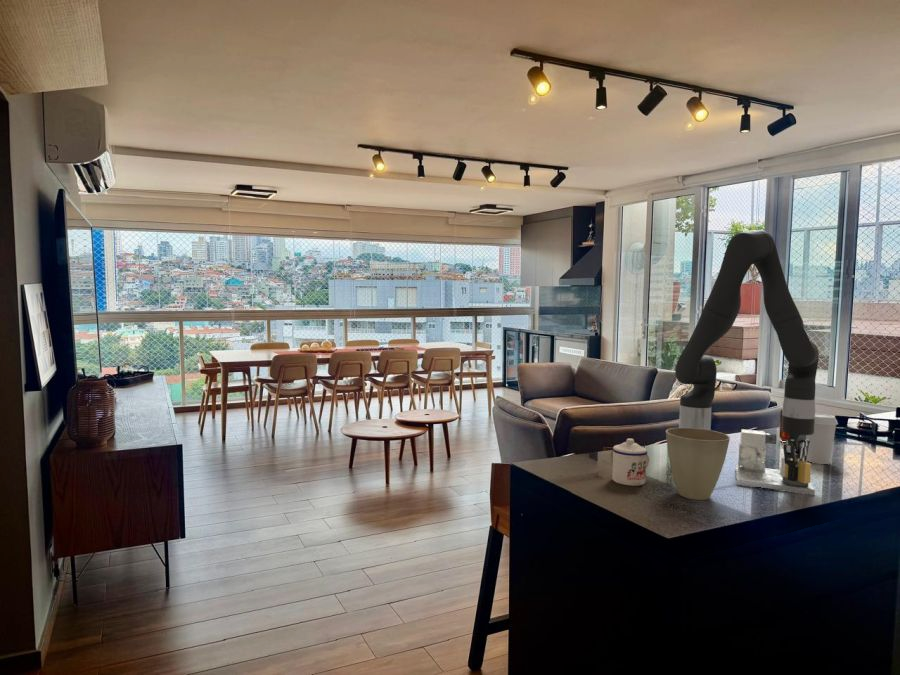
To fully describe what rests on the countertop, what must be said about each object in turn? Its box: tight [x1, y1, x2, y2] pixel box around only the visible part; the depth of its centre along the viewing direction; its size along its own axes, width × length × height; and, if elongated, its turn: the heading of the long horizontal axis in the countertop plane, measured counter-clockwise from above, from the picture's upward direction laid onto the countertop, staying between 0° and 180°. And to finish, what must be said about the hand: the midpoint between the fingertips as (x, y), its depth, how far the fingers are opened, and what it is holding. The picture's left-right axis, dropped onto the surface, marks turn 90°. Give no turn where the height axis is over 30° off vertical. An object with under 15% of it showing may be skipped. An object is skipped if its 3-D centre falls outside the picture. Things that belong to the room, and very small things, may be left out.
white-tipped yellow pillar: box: [780, 456, 812, 486], centre depth 157 cm, size 7×6×6 cm
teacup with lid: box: [612, 438, 650, 487], centre depth 161 cm, size 12×9×12 cm
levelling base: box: [735, 428, 816, 496], centre depth 163 cm, size 18×18×12 cm
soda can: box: [778, 409, 789, 442], centre depth 216 cm, size 7×7×12 cm
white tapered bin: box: [806, 412, 839, 465], centre depth 187 cm, size 10×10×15 cm
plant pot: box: [665, 427, 731, 501], centre depth 149 cm, size 15×15×16 cm
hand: (794, 478), depth 157 cm, fingers closed on white-tipped yellow pillar, 3 cm apart
